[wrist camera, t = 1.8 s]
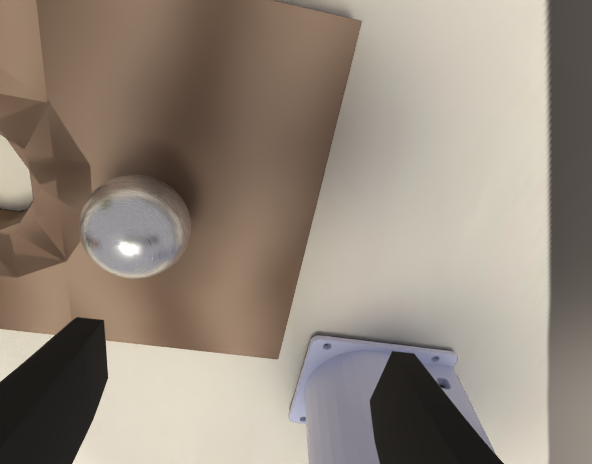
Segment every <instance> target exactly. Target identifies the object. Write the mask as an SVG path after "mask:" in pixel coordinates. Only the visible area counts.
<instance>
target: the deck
mask: <svg viewBox="0 0 592 464" xmlns="http://www.w3.org/2000/svg"><path fill="white" fill-rule="evenodd" d="M361 23H362V21H360V20H355V19H351V18H347V17H342V16H338V15H334V14H330V13H325V12H321V11H317V10H312V9H308V8H304V7H299V6H295V5H291V4H286V3H282V2H278V1H274V0H0V135H2V136H3V137H5V138H6V139H7V140H8V141H9V143H10V144H11V146H12V147H13V148H14V150H15V151H16V152H17V154H18V155H19V157H20V158H21V159H22V161H23V162H24V163H25V165H26V166H27V168H28V169H29V171H30V178H31V185H32V192H33V199H34V201H33V203H32V204H31V206H30V208H29V209H27V210H24V211H21V212H16V211H10V210H3V209H0V329H7V330H16V331H25V332H34V333H43V334H52V335H56V334H57V333H58V332H59V331H60V330H62V329H63V328H64V327H65V326H66V325H67V324H68V323H69V322H71V321H72V320H73V319H75V318H76V317H81V318H91V319H100V320H104V326H105V340H107V341H116V342H125V343H134V344H143V345H152V346H161V347H170V348H179V349H188V350H198V351H207V352H216V353H225V354H234V355H243V356H252V357H261V358H270V359H278V357H279V353H280V349H281V345H282V341H283V337H284V333H285V329H286V325H287V321H288V317H289V313H290V309H291V305H292V301H293V297H294V293H295V289H296V285H297V281H298V277H299V273H300V269H301V265H302V261H303V257H304V253H305V249H306V245H307V240H308V236H309V232H310V228H311V224H312V220H313V216H314V212H315V208H316V204H317V200H318V196H319V192H320V188H321V184H322V180H323V176H324V172H325V168H326V164H327V160H328V156H329V152H330V148H331V144H332V140H333V136H334V132H335V128H336V124H337V119H338V115H339V111H340V107H341V103H342V99H343V95H344V91H345V87H346V83H347V79H348V75H349V71H350V67H351V63H352V59H353V55H354V51H355V47H356V43H357V39H358V35H359V31H360V27H361ZM126 175H144V176H149V177H152V178H155V179H158V180H160V181H162V182H164V183H166V184H167V185H169V186H170V187H172V188H173V189H174V190H175V191H176V192H177V193H178V194H179V195H180V196H181V198H182V199H183V201H184V202H185V204H186V206H187V208H188V211H189V214H190V218H191V236H190V240H189V243H188V246H187V248H186V250H185V252H184V253H183V255H182V256H181V258H180V259H179V260H178V261H177V262H176V263H175V264H174V265H173V266H171V267H170V268H169V269H167V270H166V271H164V272H162V273H160V274H157V275H155V276H152V277H148V278H140V279H130V278H123V277H119V276H116V275H113V274H111V273H109V272H107V271H105V270H103V269H102V268H100V267H99V266H98V265H97V264H96V263H94V262H93V261H92V259H91V258H90V257H89V256H88V254H87V253H86V251H85V249H84V247H83V245H82V242H81V239H80V234H79V219H80V214H81V211H82V208H83V206H84V204H85V202H86V200H87V199H88V198H89V196H90V195H91V194H92V193H93V191H95V190H96V189H97V188H98V187H99V186H101V185H102V184H104V183H105V182H107V181H109V180H112V179H114V178H117V177H120V176H126Z"/></svg>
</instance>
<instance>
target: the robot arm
mask: <svg viewBox="0 0 592 464" xmlns="http://www.w3.org/2000/svg"><path fill="white" fill-rule="evenodd" d="M327 343H328V345H324V344H327ZM434 356H435V357H434ZM457 360H458V358H457V356H456V354H455V353H454V352H452V351H446V350H438V349H429V348H421V347H413V346H404V345H396V344H388V343H379V342H371V341H363V340H354V339H346V338H338V337H329V336H321V335H318V336H314V337H313V338H312V339H311V340H310V344H309V347H308V351H307V354H306V357H305V361H304V364H303V368H302V371H301V374H300V378H299V381H298V384H297V388H296V391H295V395H294V398H293V401H292V405H291V408H290V412H289V419H290V421H292V422H295V423H306V426H307V441H308V456H309V464H504V463H503V462H502V461H501V460H500V459H499V458H498V457H497V456H496V454H495V452H494V450H493V448H492V446H491V443H490V441H489V439H488V437H487V435H486V433H485V431H484V429H483V427H482V425H481V423H480V421H479V419H478V417H477V415H476V413H475V411H474V409H473V407H472V405H471V403H470V401H469V399H468V397H467V395H466V393H465V391H464V389H463V387H462V385H461V383H460V380H459V378H458V376H457V374H456V372H455V370H454V366H455V364H456V362H457ZM107 379H108V370H107V356H106V341H105V326H104V320H100V319H91V318H81V317H76V318H75V319H73V320H72V321H71V322H69V323H68V324H67V325H66V326H65V327H64V328H63V329H62V330H60V331H59V332H58V333H57V334H56V335H55V336H54V337H53V338H51V339H50V340H49V341H48V342H47V343H46V344H45V345H43V346H42V347H41V348H40V349H39V350H38V351H36V352H35V353H34V354H33V355H32V356H31V357H30V358H28V359H27V360H26V361H25V362H24V363H23V364H21V365H20V366H19V367H18V368H17V369H15V370H14V371H13V372H12V373H10V374H9V375H8V376H7V377H6V378H4V379H3V380H2V381H1V382H0V464H72V463H73V461H74V459H75V457H76V455H77V452H78V450H79V448H80V446H81V444H82V442H83V440H84V438H85V436H86V434H87V432H88V429H89V427H90V425H91V423H92V421H93V418H94V416H95V413H96V410H97V408H98V405H99V402H100V399H101V396H102V394H103V391H104V388H105V385H106V382H107Z"/></svg>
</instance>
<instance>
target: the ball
mask: <svg viewBox="0 0 592 464" xmlns="http://www.w3.org/2000/svg"><path fill="white" fill-rule="evenodd" d="M79 234H80V239H81V242H82V245H83V247H84V249H85V251H86V253H87V254H88V256H89V257H90V258H91V259H92V261H93V262H94V263H96V264H97V265H98V266H99V267H100V268H102V269H103V270H105V271H107V272H109V273H111V274H113V275H116V276H119V277H123V278H130V279H140V278H148V277H152V276H155V275H157V274H160V273H162V272H164V271H166V270H167V269H169V268H170V267H171V266H173V265H174V264H175V263H176V262H177V261H178V260H179V259H180V258H181V256H182V255H183V253H184V252H185V250H186V248H187V246H188V243H189V240H190V236H191V218H190V214H189V211H188V208H187V206H186V204H185V202H184V201H183V199H182V198H181V196H180V195H179V194H178V193H177V192H176V191H175V190H174V189H173V188H172V187H170V186H169V185H167V184H166V183H164V182H162V181H160V180H158V179H155V178H152V177H149V176H144V175H126V176H120V177H117V178H114V179H112V180H109V181H107V182H105V183H104V184H102V185H101V186H99V187H98V188H97V189H96V190H95V191H93V193H92V194H91V195H90V196H89V198H88V199H87V200H86V202H85V204H84V206H83V208H82V211H81V214H80V219H79Z"/></svg>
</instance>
